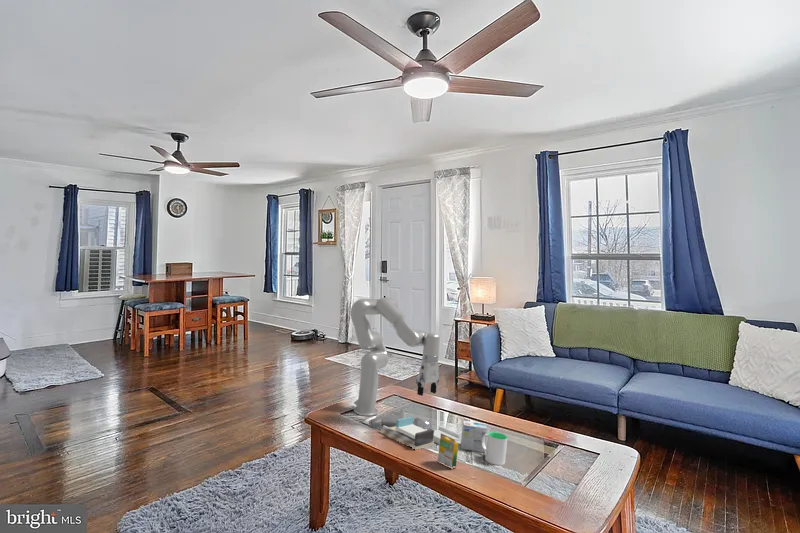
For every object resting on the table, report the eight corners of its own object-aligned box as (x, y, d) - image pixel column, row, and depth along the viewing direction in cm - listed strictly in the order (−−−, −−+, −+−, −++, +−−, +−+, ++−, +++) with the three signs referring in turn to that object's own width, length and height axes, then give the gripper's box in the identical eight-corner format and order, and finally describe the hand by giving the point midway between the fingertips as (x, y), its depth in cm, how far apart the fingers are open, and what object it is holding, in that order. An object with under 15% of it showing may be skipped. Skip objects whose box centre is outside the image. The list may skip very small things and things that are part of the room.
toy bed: (394, 434, 177) (396, 419, 177) (409, 430, 184) (411, 416, 184) (414, 444, 168) (416, 428, 169) (428, 439, 175) (430, 425, 175)
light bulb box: (483, 447, 179) (486, 423, 180) (485, 453, 172) (488, 428, 173) (460, 443, 180) (462, 419, 181) (460, 449, 174) (463, 424, 174)
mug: (474, 454, 170) (476, 429, 170) (486, 451, 174) (489, 427, 175) (496, 466, 160) (499, 440, 160) (508, 463, 165) (511, 437, 165)
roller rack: (421, 435, 184) (422, 430, 184) (440, 430, 193) (440, 425, 193) (441, 445, 175) (442, 439, 175) (459, 439, 185) (460, 434, 185)
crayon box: (456, 468, 154) (459, 438, 154) (451, 470, 152) (454, 439, 152) (442, 461, 159) (445, 431, 160) (437, 462, 157) (440, 433, 158)
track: (380, 432, 182) (382, 418, 182) (398, 428, 190) (400, 414, 190) (415, 450, 166) (417, 434, 166) (433, 445, 174) (435, 430, 175)
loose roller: (412, 427, 194) (413, 418, 194) (418, 425, 197) (419, 417, 197) (424, 432, 188) (425, 423, 189) (430, 431, 191) (431, 422, 192)
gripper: (424, 361, 186) (420, 398, 185) (446, 359, 198) (443, 393, 197) (412, 358, 191) (409, 393, 190) (435, 356, 203) (432, 390, 202)
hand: (426, 393), depth 193 cm, fingers open, 9 cm apart
